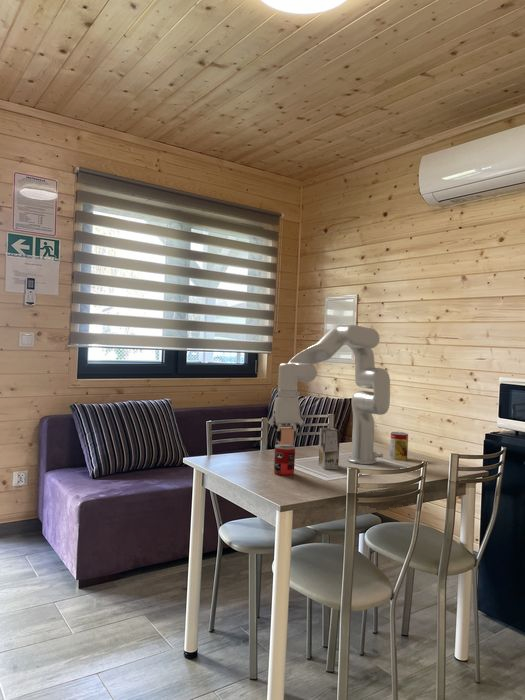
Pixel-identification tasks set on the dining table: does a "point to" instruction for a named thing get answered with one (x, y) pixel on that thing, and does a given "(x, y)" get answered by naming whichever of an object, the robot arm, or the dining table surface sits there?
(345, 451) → the dining table surface
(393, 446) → the canned food
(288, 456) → the canned food
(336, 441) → the coffee box
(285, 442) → the block
